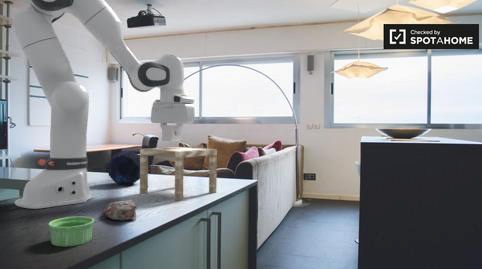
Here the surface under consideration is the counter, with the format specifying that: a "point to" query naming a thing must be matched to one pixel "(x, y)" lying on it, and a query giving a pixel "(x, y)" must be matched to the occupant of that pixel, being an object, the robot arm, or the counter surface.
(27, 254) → the counter surface
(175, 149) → the trapdoor
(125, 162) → the decorative orb
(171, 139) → the stone block
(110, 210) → the mineral rock
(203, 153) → the wooden stool
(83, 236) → the ramekin
